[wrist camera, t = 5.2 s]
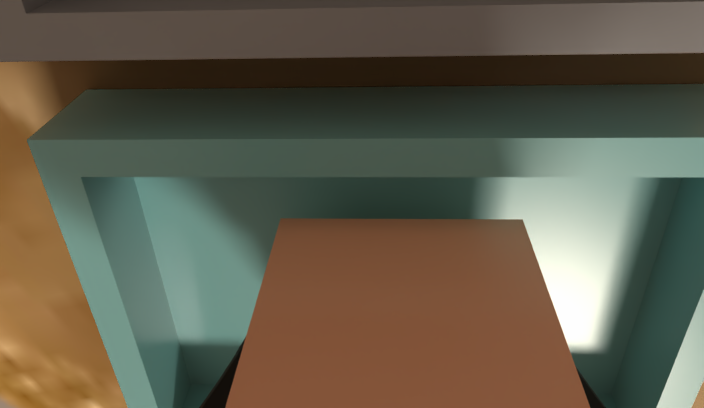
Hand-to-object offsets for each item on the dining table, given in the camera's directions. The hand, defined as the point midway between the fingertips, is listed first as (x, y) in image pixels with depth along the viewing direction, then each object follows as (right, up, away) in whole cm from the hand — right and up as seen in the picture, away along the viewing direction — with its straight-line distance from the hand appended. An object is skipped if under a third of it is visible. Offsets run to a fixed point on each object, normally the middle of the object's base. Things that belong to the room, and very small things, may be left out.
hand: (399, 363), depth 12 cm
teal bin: (0, +2, +3) cm, 3 cm away
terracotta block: (0, +1, +1) cm, 1 cm away
